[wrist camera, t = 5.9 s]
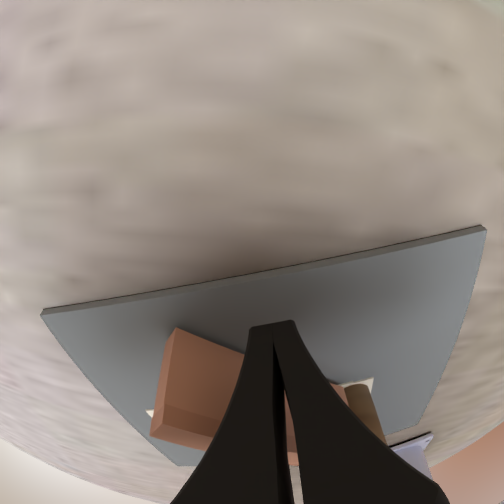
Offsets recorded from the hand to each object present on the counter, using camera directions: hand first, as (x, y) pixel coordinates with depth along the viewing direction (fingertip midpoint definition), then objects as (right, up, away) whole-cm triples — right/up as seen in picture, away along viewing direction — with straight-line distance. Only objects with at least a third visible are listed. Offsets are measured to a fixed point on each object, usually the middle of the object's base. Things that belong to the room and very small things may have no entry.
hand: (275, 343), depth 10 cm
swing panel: (0, -2, +3) cm, 3 cm away
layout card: (+1, -5, +5) cm, 7 cm away
